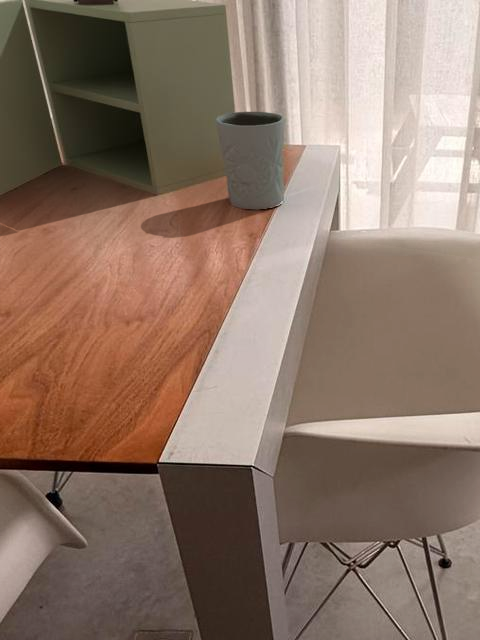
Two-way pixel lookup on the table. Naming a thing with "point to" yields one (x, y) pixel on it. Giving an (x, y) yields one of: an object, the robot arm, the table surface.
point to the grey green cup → (253, 158)
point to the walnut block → (95, 2)
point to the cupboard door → (22, 105)
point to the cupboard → (137, 87)
